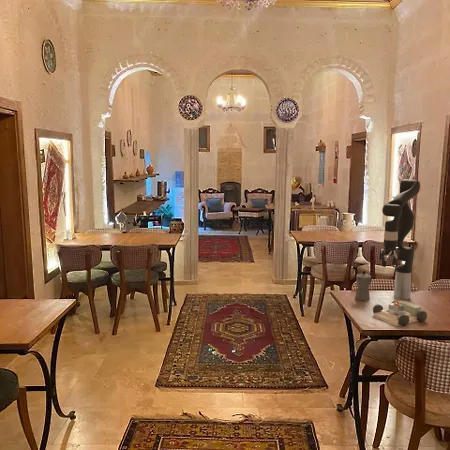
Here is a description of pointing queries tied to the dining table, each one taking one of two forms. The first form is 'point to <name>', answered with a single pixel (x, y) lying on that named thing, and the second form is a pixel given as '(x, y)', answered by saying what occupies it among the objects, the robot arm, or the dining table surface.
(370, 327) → the dining table surface
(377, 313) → the chassis
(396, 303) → the cube with copper knob
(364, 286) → the coffeepot
